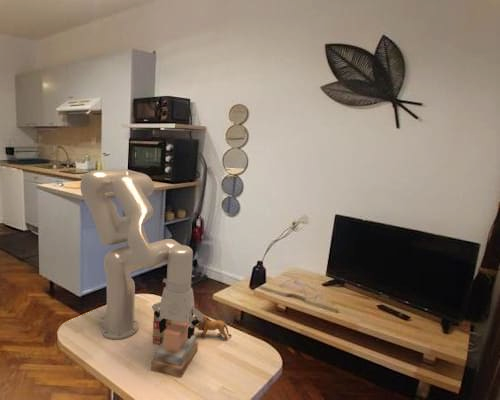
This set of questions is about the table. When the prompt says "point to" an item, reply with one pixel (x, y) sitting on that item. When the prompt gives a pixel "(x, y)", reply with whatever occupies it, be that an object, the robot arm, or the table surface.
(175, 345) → the terracotta brick
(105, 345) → the table surface
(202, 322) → the lion figurine
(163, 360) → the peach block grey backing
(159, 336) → the stack of blocks
